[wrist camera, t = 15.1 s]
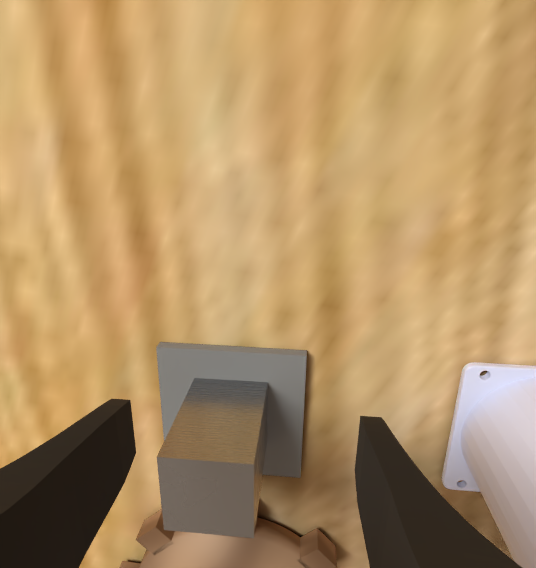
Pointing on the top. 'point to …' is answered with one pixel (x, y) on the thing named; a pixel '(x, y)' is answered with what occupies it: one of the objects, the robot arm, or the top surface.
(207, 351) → the mat
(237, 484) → the link block
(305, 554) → the sprocket wheel
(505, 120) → the top surface
